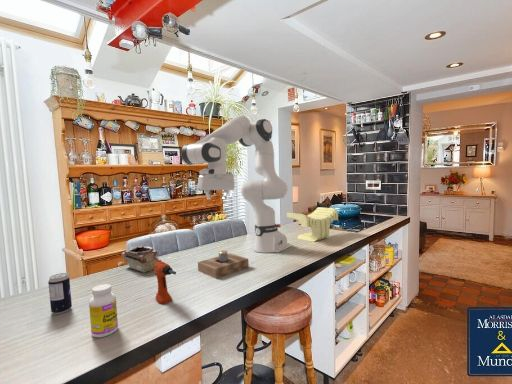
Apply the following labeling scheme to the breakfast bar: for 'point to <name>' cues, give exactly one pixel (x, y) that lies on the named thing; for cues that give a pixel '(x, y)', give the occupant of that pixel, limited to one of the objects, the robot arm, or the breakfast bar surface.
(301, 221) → the slatted curved stool
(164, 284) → the toy drill
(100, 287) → the supplement bottle
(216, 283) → the breakfast bar surface
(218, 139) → the robot arm
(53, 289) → the beverage can
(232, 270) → the chuck block
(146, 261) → the decorative box
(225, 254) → the key peg
